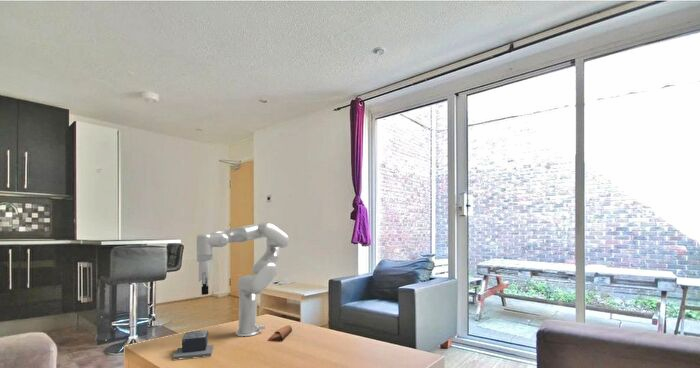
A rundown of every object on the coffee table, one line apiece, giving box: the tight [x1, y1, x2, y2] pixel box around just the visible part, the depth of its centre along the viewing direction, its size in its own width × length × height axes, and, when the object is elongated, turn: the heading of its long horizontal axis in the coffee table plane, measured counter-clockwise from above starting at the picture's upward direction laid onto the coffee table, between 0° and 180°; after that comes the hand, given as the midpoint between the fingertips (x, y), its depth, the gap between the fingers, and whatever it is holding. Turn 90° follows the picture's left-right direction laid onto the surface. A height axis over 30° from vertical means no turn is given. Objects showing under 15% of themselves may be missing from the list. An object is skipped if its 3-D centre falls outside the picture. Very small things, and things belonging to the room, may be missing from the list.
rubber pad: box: [172, 344, 214, 360], centre depth 174 cm, size 16×12×2 cm
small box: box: [181, 330, 209, 352], centre depth 178 cm, size 11×6×10 cm
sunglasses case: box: [267, 325, 293, 343], centre depth 200 cm, size 18×7×7 cm, turn 173°
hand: (205, 294), depth 191 cm, fingers closed
